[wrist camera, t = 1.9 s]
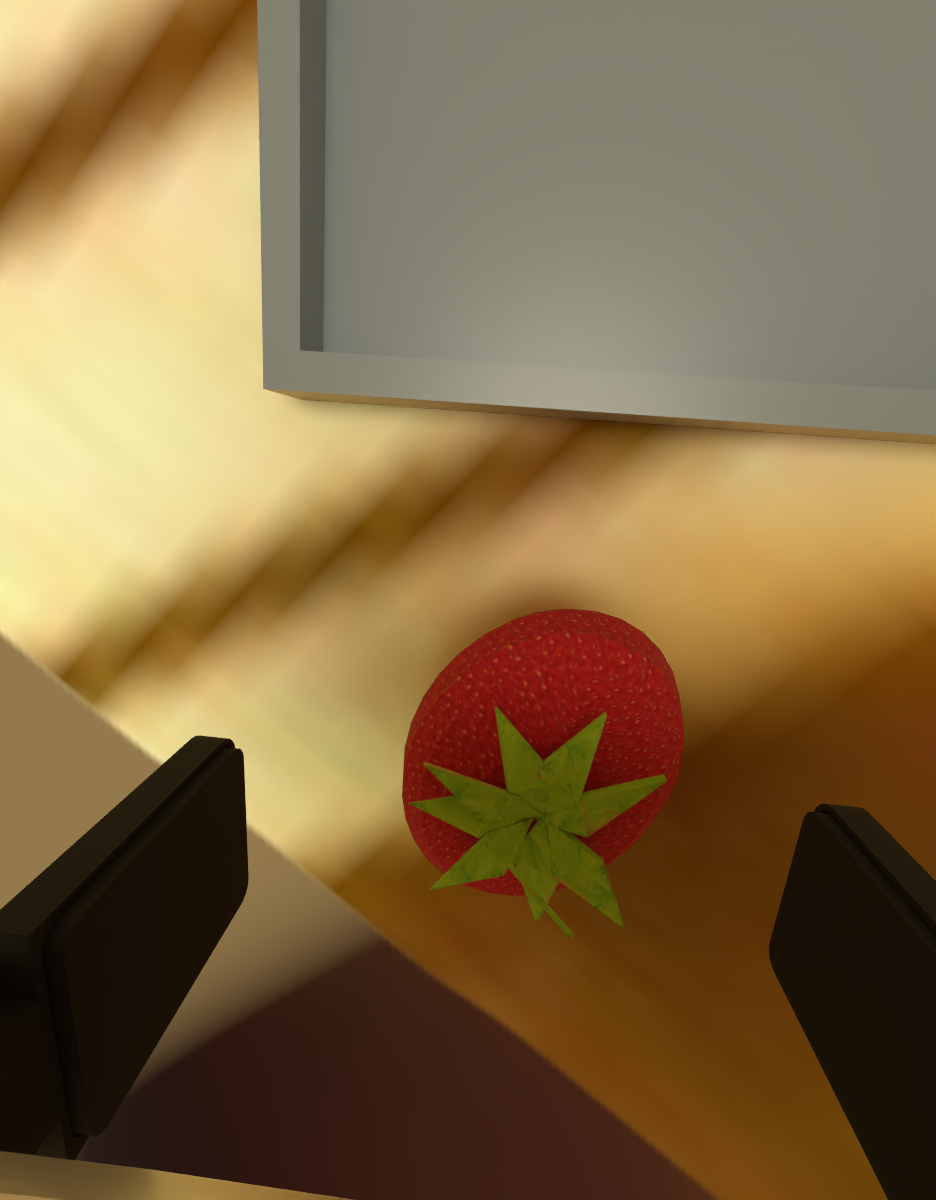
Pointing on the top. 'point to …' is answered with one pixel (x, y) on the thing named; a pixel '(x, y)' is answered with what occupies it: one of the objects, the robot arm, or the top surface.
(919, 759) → the top surface
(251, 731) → the top surface
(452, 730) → the strawberry
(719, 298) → the tray
